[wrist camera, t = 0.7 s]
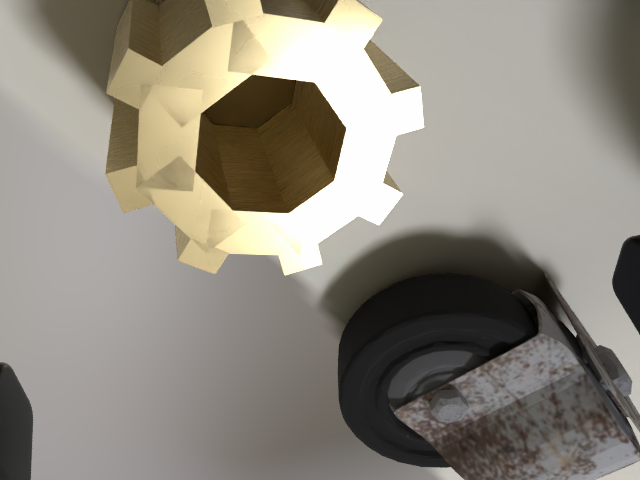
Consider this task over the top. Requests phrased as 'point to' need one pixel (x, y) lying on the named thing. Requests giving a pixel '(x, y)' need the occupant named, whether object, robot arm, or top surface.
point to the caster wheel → (484, 384)
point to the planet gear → (249, 143)
